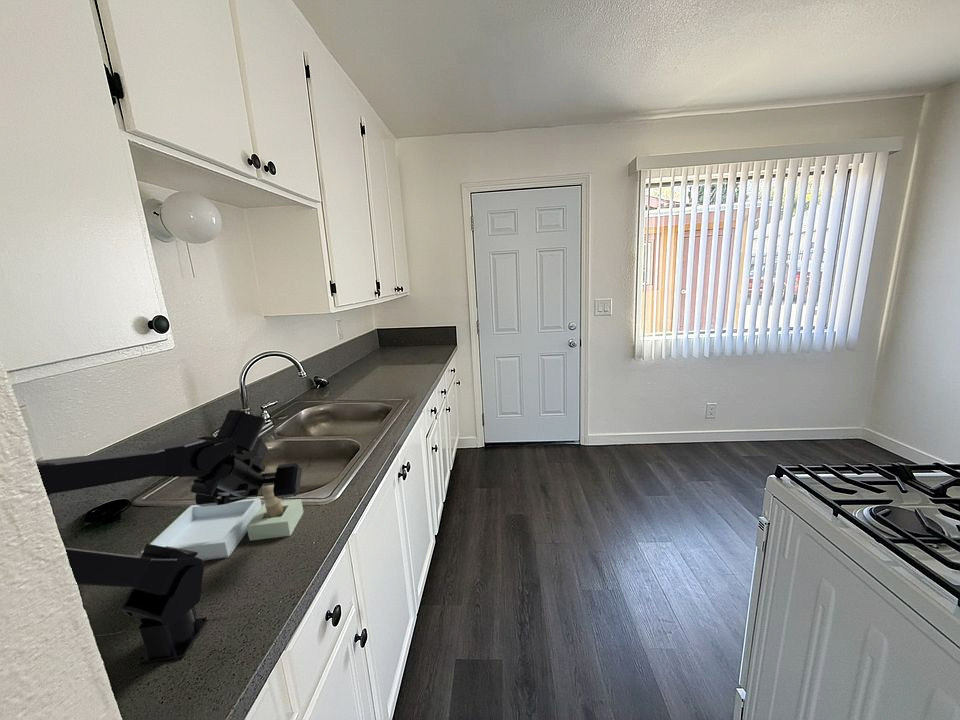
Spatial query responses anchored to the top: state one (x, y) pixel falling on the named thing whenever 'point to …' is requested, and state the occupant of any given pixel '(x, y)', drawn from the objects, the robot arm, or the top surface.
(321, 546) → the top surface
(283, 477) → the robot arm
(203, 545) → the tray
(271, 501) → the dowel
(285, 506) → the dowel block
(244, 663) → the top surface
